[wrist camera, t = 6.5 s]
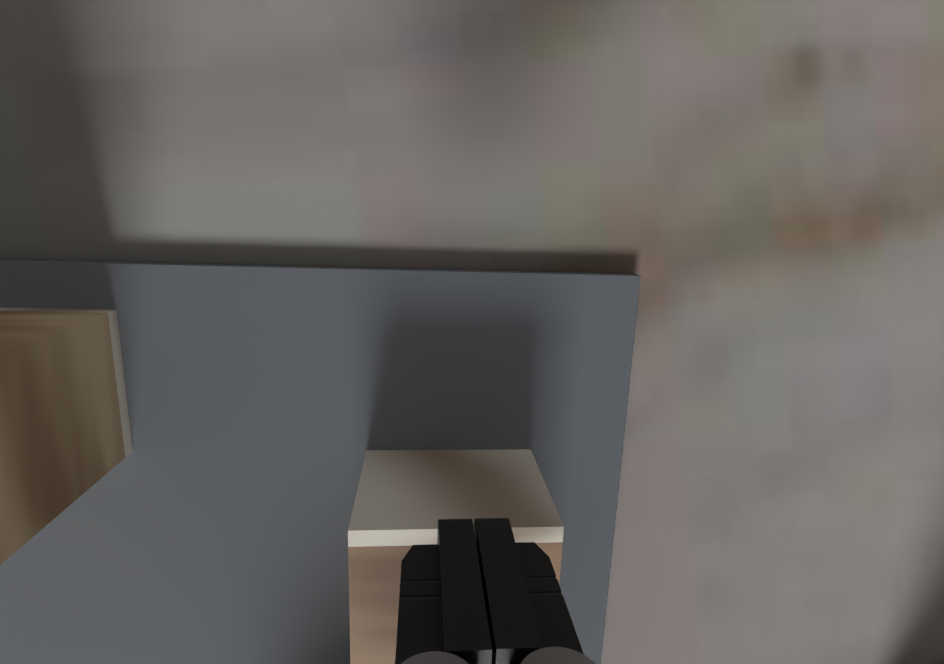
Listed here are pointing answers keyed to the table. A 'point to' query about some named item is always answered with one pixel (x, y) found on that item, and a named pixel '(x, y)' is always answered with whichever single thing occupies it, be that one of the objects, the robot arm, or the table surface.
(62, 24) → the table surface
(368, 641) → the walnut block
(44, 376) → the oak block
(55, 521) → the mat
